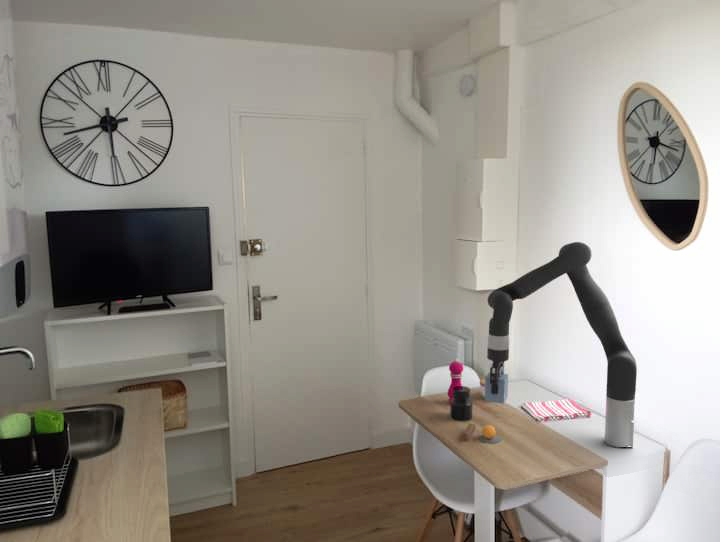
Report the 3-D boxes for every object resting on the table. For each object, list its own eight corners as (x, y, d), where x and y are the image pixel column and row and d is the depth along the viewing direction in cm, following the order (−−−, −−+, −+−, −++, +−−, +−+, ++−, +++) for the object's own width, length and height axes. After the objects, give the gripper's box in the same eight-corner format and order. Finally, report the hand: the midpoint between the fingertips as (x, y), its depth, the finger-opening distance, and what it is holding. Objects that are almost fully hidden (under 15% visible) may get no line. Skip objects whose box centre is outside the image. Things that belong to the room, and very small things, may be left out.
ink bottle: (474, 414, 231) (474, 386, 229) (473, 422, 222) (473, 393, 221) (450, 412, 233) (450, 384, 232) (448, 420, 225) (448, 391, 223)
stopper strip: (474, 430, 214) (474, 424, 214) (468, 441, 205) (468, 434, 205) (469, 429, 215) (469, 423, 215) (462, 440, 206) (462, 433, 206)
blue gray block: (507, 397, 206) (508, 374, 205) (503, 403, 200) (504, 380, 198) (488, 394, 209) (489, 372, 207) (484, 400, 202) (485, 377, 201)
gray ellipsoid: (503, 436, 209) (503, 435, 209) (499, 444, 202) (499, 444, 202) (481, 432, 212) (481, 432, 212) (476, 441, 205) (476, 440, 205)
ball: (485, 436, 210) (498, 435, 208) (482, 441, 206) (495, 440, 204) (482, 423, 210) (495, 422, 208) (479, 428, 206) (492, 427, 204)
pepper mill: (446, 400, 246) (446, 356, 244) (463, 400, 246) (463, 356, 244) (448, 406, 239) (448, 361, 237) (465, 406, 239) (466, 361, 236)
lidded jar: (488, 392, 256) (489, 372, 254) (509, 398, 248) (509, 377, 247) (474, 398, 248) (474, 378, 247) (495, 404, 241) (495, 383, 239)
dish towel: (593, 418, 225) (593, 410, 225) (538, 423, 221) (539, 415, 221) (570, 403, 242) (570, 395, 241) (519, 408, 238) (519, 400, 237)
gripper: (505, 352, 193) (503, 398, 196) (512, 342, 206) (510, 386, 209) (483, 350, 196) (481, 395, 199) (491, 340, 209) (490, 383, 212)
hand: (496, 390), depth 204 cm, fingers closed on blue gray block, 7 cm apart
